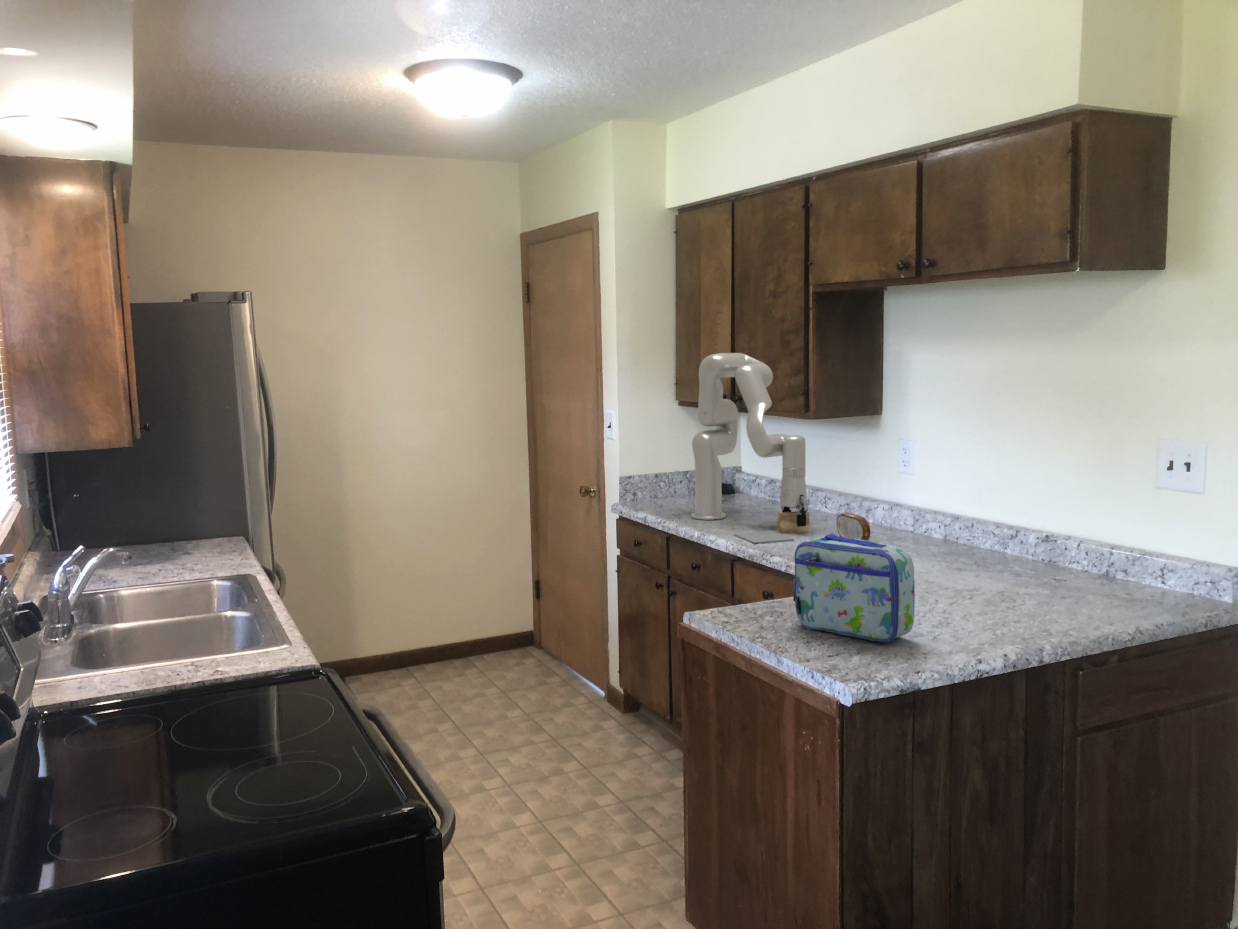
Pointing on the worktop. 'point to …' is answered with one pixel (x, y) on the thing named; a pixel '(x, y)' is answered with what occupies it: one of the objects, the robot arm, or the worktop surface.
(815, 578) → the lunch box
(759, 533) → the mat
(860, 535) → the tin
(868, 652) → the worktop surface
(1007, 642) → the worktop surface
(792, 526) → the block
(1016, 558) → the worktop surface
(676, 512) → the worktop surface
